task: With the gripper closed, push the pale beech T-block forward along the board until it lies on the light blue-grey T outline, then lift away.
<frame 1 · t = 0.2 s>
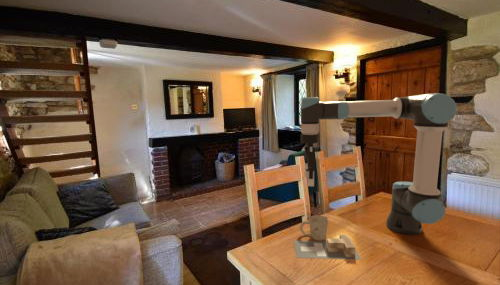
hand: (308, 181, 114), 28 cm above the table, fingers open, 13 cm apart
board: (325, 252, 107), on the table
mug: (313, 239, 118), on the table
t block: (342, 249, 106), point 1 cm above the table, touching board
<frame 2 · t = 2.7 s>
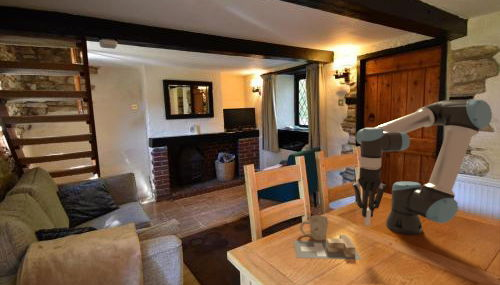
hand: (366, 224, 104), 13 cm above the table, fingers closed
nothing on the table moved.
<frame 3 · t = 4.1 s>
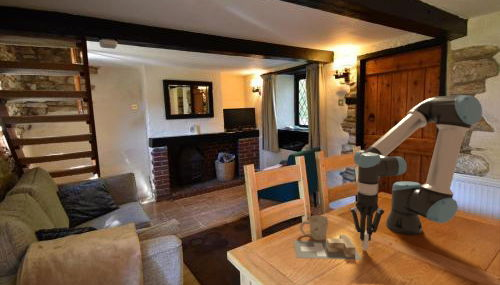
hand: (364, 247, 105), 3 cm above the table, fingers closed
nothing on the table moved.
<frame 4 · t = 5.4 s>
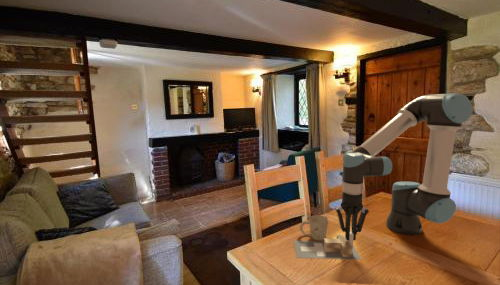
hand: (350, 247, 106), 3 cm above the table, fingers closed
t block: (339, 249, 106), point 2 cm above the table, touching board, gripper
everything else where it was.
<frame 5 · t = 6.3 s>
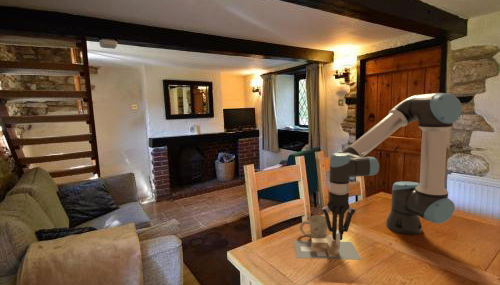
hand: (336, 246, 106), 3 cm above the table, fingers closed
t block: (326, 249, 107), point 1 cm above the table, touching board, gripper
everything else where it was.
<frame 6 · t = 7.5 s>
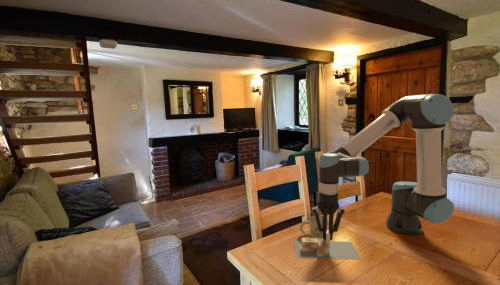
hand: (327, 246, 106), 3 cm above the table, fingers closed
t block: (316, 249, 107), point 1 cm above the table, touching board, gripper
everything else where it was.
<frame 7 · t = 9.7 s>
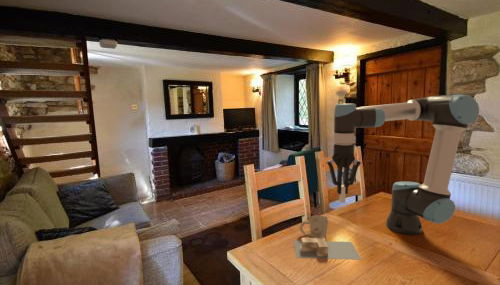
hand: (342, 201, 103), 22 cm above the table, fingers closed
t block: (316, 249, 107), point 1 cm above the table, touching board
everything else where it was.
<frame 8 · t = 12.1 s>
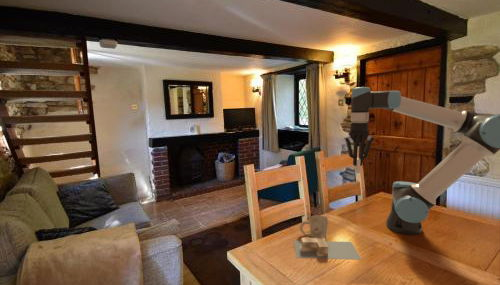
hand: (357, 172, 120), 29 cm above the table, fingers closed
nothing on the table moved.
at the end: t block 1.0 cm from the target spot on the board, point 1.5 cm above the board's base; t block tilted 0°; t block moved 10.5 cm from its start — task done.
